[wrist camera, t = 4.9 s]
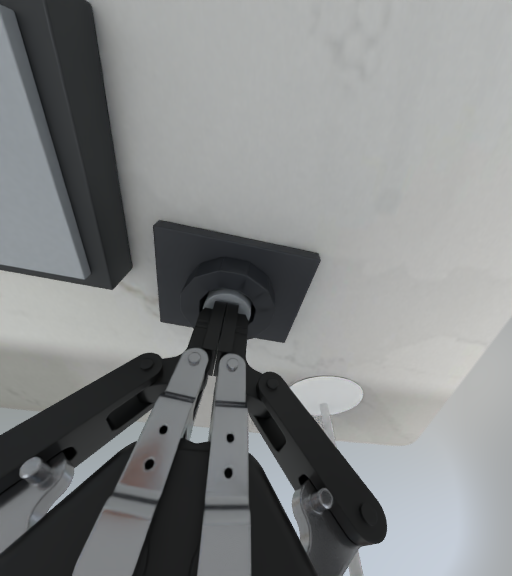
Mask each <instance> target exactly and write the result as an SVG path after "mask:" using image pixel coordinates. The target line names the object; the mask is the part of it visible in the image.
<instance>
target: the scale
mask: <svg viewBox="0 0 512 576" xmlns="http://www.w3.org/2000/svg"><path fill="white" fill-rule="evenodd" d="M131 269H132V265H131V258H130V252H129V245H128V239H127V232H126V226H125V220H124V213H123V207H122V200H121V194H120V188H119V181H118V175H117V168H116V162H115V156H114V149H113V143H112V136H111V130H110V123H109V117H108V111H107V104H106V98H105V91H104V85H103V79H102V72H101V66H100V59H99V53H98V46H97V40H96V34H95V27H94V21H93V14H92V8H91V5H90V3H89V2H87V1H86V0H0V270H4V271H9V272H15V273H21V274H26V275H32V276H37V277H43V278H49V279H54V280H60V281H65V282H71V283H77V284H82V285H88V286H93V287H99V288H105V289H110V290H113V289H114V288H115V287H116V286H117V285H118V283H119V282H120V281H121V280H122V279H123V278H124V277H125V276H126V275H127V274H128V272H129V271H130V270H131Z"/></svg>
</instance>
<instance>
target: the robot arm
mask: <svg viewBox="0 0 512 576" xmlns="http://www.w3.org/2000/svg"><path fill="white" fill-rule="evenodd" d="M226 305H227V309H226ZM238 309H239V305H236V304H231V303H228V304H227V303H225V302H219V301H215V303H214V307H213V309H211V308H204V309H203V310H202V311H201V312H200V313H199V316H198V319H197V322H196V325H195V327H194V330H193V333H192V336H191V339H190V342H189V345H188V347H187V349H186V350H185V351H184V352H183V353H182V354H181V355H179V356H176V357H172V358H165V359H162V358H161V357H160V356H159V355H157V354H155V353H145V354H142V355H140V356H138V357H136V358H134V359H133V360H131V361H129V362H127V363H126V364H124V365H122V366H120V367H119V368H117V369H115V370H113V371H112V372H110V373H108V374H106V375H105V376H103V377H101V378H99V379H98V380H96V381H94V382H92V383H91V384H89V385H87V386H85V387H84V388H82V389H80V390H79V391H77V392H75V393H73V394H72V395H70V396H68V397H66V398H65V399H63V400H61V401H59V402H58V403H56V404H54V405H52V406H51V407H49V408H47V409H45V410H44V411H42V412H40V413H38V414H37V415H35V416H33V417H31V418H30V419H28V420H26V421H24V422H23V423H21V424H19V425H17V426H16V427H14V428H12V429H10V430H9V431H7V432H5V433H3V434H2V435H0V576H343V574H344V572H345V571H346V569H347V568H348V566H349V564H350V563H351V561H352V559H353V558H354V556H355V554H356V553H357V551H358V549H359V548H360V547H362V546H366V545H372V544H377V543H380V542H382V541H383V540H384V538H385V536H386V532H387V523H386V517H385V514H384V511H383V509H382V507H381V505H380V504H379V502H378V501H377V499H376V498H375V497H374V495H373V494H372V493H371V491H370V490H369V489H368V488H367V486H366V485H365V484H364V482H363V481H362V480H361V479H360V477H359V476H358V475H357V474H356V472H355V471H354V470H353V468H352V467H351V466H350V465H349V463H348V462H347V461H346V459H345V458H344V457H343V456H342V455H341V453H340V452H339V450H338V449H337V448H336V447H335V445H334V444H333V443H332V441H331V440H330V439H329V438H328V436H327V435H326V434H325V432H324V431H323V430H322V429H321V427H320V426H319V425H318V424H317V422H316V421H315V420H314V418H313V417H312V416H311V415H310V413H309V412H308V411H307V409H306V408H305V407H304V406H303V404H302V403H301V402H300V400H299V399H298V398H297V397H296V395H295V394H294V393H293V391H292V390H291V389H290V388H289V386H288V385H287V384H286V383H285V381H284V380H283V379H282V378H281V376H279V375H278V374H276V373H274V372H266V373H264V374H262V373H260V372H258V371H256V370H254V369H252V368H251V367H250V366H249V365H248V363H247V361H246V345H247V334H248V323H249V321H248V319H247V316H246V315H245V314H239V313H238ZM225 311H226V314H225ZM224 317H225V318H224ZM223 322H224V323H223ZM216 356H217V357H216ZM215 360H216V363H215ZM214 365H215V369H214ZM213 370H214V375H213V376H217V377H216V383H215V388H214V395H213V404H212V413H211V421H210V430H209V437H208V442H203V443H193V442H191V441H189V440H190V437H191V433H192V428H193V425H194V421H195V418H196V415H197V412H198V408H199V405H200V402H201V399H202V396H203V392H204V389H205V386H206V384H207V379H208V375H210V376H212V374H213ZM152 408H153V409H152ZM151 409H152V411H151V413H150V415H149V417H148V420H147V422H146V424H145V426H144V428H143V430H142V432H141V434H140V436H139V439H138V441H136V442H133V443H131V444H130V445H128V446H126V447H125V448H123V449H122V450H120V451H119V452H118V453H117V454H116V455H114V457H112V458H111V459H110V460H109V461H107V462H106V463H105V464H104V465H103V466H102V467H100V468H99V469H98V470H97V471H96V472H95V473H93V475H91V476H90V477H89V478H88V479H86V480H85V481H84V482H83V483H82V484H81V485H79V486H78V487H77V488H76V489H75V490H74V491H73V492H71V493H70V494H69V495H68V496H67V497H66V498H64V499H63V500H62V501H61V502H60V503H59V504H58V505H56V506H55V507H54V508H53V509H52V510H50V511H49V512H48V510H49V508H50V507H51V506H52V504H53V503H54V502H55V501H56V500H57V499H58V498H59V497H60V496H61V495H62V494H63V493H64V492H65V491H66V490H67V488H68V487H69V485H70V483H71V481H72V479H73V476H74V468H75V467H77V466H78V465H79V464H80V463H82V462H83V461H84V460H86V459H87V458H88V457H90V456H91V455H92V454H94V453H95V452H96V451H97V450H98V449H100V448H101V447H102V446H104V445H105V444H106V443H108V442H109V441H110V440H112V439H113V438H114V437H115V436H117V435H118V434H120V433H121V432H122V431H123V430H125V429H126V428H127V427H129V426H130V425H131V424H133V423H134V422H135V421H137V420H138V419H139V418H141V417H142V416H143V415H144V414H146V413H147V412H148V411H150V410H151ZM248 413H249V415H250V417H251V419H252V421H253V422H254V424H255V426H256V427H257V429H258V430H259V432H260V434H261V435H262V437H263V439H264V440H265V442H266V444H267V445H268V447H269V449H270V450H271V452H272V453H273V455H274V457H275V458H276V460H277V462H278V463H279V465H280V467H281V468H282V470H283V471H284V473H285V475H286V477H287V478H288V480H289V481H290V483H291V484H292V486H293V488H294V490H295V492H294V494H293V498H292V508H293V513H294V517H295V519H296V521H297V523H298V526H299V531H300V539H299V537H298V536H297V534H296V532H295V530H294V528H293V526H292V524H291V522H290V520H289V518H288V516H287V514H286V513H285V511H284V509H283V507H282V505H281V503H280V501H279V499H278V497H277V495H276V493H275V491H274V490H273V488H272V486H271V484H270V482H269V480H268V478H267V476H266V474H265V472H264V470H263V469H262V467H261V465H260V464H259V463H258V461H257V460H256V459H255V458H254V457H253V456H252V455H251V454H250V453H248ZM47 512H48V513H47ZM46 513H47V514H46Z"/></svg>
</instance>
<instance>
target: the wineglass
mask: <svg viewBox="0 0 512 576" xmlns="http://www.w3.org/2000/svg"><path fill="white" fill-rule="evenodd" d="M289 388H290V389H291V390H292V391H293V393H294V394H295V395H296V397H297V398H298V399H299V400H300V402H301V403H302V404H303V406H304V407H305V408H306V409H307V411H308V412H309V413H310V415H320V416H322V421H323V427H324V432H325V434H326V435H327V436H328V438H329V439H330V440H331V441H332V443H333V444H334V445H335V447H336V448H337V446H336V442H335V437H334V432H333V427H332V422H331V417H330V415H333V414H338V413H341V412H345V411H347V410H349V409H351V408H353V407H355V406H356V405H357V404H358V403H359V402H361V400H362V397H363V391H362V388H361V387H360V386H359V385H358V384H357V383H355V382H353V381H350V380H348V379H345V378H340V377H335V376H319V377H314V378H308V379H305V380H302V381H299V382H297V383H295V384H293V385H292V386H290V387H289ZM349 572H350V576H363V571H362V566H361V562H360V557H359V552H358V551H357V553H356V554H355V556H354V558H353V559H352V561H351V563H350V564H349Z"/></svg>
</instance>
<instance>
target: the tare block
mask: <svg viewBox="0 0 512 576" xmlns="http://www.w3.org/2000/svg"><path fill="white" fill-rule="evenodd" d="M153 231H154V244H155V256H156V269H157V282H158V295H159V308H160V321H161V322H164V323H170V324H176V325H181V326H187V327H193V328H194V327H195V325H196V322H197V319H198V316H199V313H200V312H201V311H202V310H203V306H204V303H205V300H206V297H207V294H208V292H209V291H212V290H216V289H220V288H227V289H232V290H237V291H240V292H242V293H243V294H245V295H246V296H248V297H249V298H250V299H251V300H252V306H251V316H250V319H249V320H248V321H249V323H248V334H247V339H252V338H258V339H264V340H270V341H276V342H282V343H285V340H286V338H287V336H288V334H289V331H290V329H291V327H292V324H293V322H294V320H295V318H296V315H297V313H298V311H299V309H300V306H301V304H302V302H303V299H304V297H305V295H306V293H307V290H308V288H309V286H310V284H311V281H312V279H313V277H314V274H315V272H316V270H317V268H318V265H319V263H320V261H321V260H320V257H319V254H318V253H314V252H309V251H304V250H299V249H295V248H290V247H285V246H280V245H275V244H271V243H266V242H261V241H256V240H251V239H247V238H242V237H237V236H232V235H228V234H223V233H218V232H213V231H208V230H204V229H199V228H194V227H189V226H184V225H180V224H175V223H170V222H165V221H161V220H159V221H158V222H156V223H155V224H154V225H153Z"/></svg>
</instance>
